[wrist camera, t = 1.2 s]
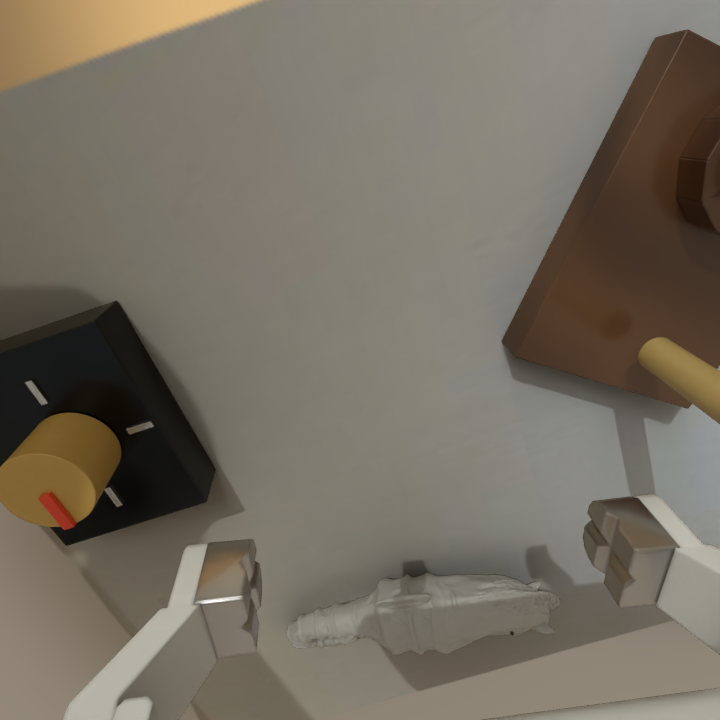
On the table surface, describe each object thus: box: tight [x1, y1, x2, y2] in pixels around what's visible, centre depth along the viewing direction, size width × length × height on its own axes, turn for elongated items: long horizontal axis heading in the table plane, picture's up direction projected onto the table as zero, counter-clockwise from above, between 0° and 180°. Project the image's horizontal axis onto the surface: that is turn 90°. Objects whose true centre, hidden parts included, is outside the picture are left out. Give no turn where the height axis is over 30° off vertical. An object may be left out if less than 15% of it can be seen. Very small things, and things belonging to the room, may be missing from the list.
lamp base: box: [502, 30, 720, 408], centre depth 25 cm, size 16×12×4 cm
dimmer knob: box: [0, 413, 121, 530], centre depth 24 cm, size 4×4×4 cm
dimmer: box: [0, 301, 215, 546], centre depth 27 cm, size 12×9×3 cm
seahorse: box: [287, 573, 561, 655], centre depth 36 cm, size 5×12×20 cm
